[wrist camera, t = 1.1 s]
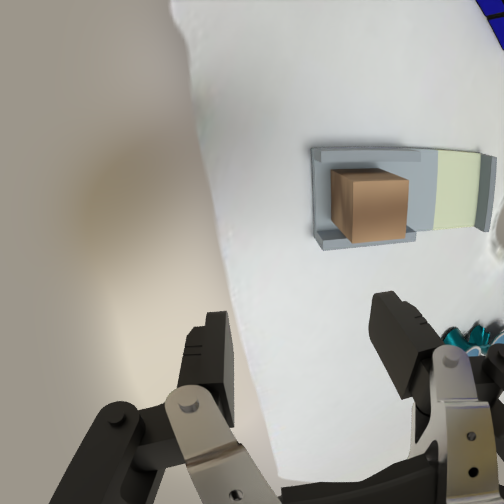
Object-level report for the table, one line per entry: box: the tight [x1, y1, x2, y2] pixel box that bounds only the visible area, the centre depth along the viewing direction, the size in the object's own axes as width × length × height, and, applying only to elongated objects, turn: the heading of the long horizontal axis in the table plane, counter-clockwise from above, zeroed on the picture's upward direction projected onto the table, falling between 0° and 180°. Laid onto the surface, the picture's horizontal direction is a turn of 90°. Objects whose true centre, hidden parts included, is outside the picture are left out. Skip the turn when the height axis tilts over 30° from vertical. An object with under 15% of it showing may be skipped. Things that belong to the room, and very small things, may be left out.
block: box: [330, 168, 409, 244], centre depth 25 cm, size 5×5×6 cm
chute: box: [311, 147, 497, 251], centre depth 28 cm, size 9×22×4 cm, turn 95°
